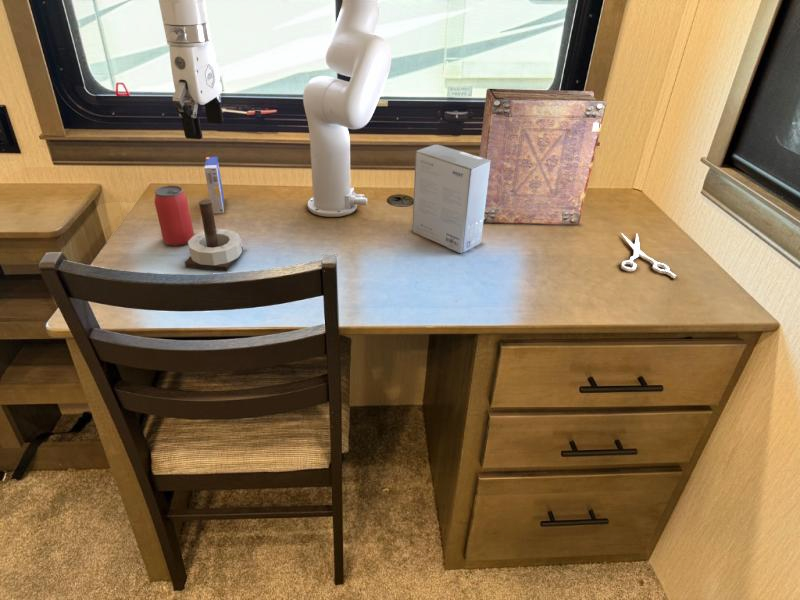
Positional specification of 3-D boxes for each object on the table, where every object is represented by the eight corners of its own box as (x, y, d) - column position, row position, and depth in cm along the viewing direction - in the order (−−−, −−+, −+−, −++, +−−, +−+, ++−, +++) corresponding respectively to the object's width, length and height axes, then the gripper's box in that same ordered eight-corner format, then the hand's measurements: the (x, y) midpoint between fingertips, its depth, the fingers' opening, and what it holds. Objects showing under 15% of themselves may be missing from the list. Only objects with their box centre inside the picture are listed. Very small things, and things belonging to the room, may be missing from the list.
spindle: (243, 251, 122) (235, 195, 115) (226, 271, 115) (217, 213, 107) (204, 247, 123) (193, 191, 116) (185, 267, 116) (173, 209, 108)
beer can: (185, 248, 122) (174, 198, 115) (157, 245, 123) (145, 194, 116) (200, 235, 127) (190, 186, 121) (173, 232, 128) (163, 182, 122)
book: (568, 209, 146) (594, 91, 129) (578, 225, 138) (608, 101, 122) (472, 207, 145) (486, 88, 128) (477, 223, 138) (493, 98, 121)
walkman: (213, 201, 143) (205, 155, 137) (224, 200, 144) (217, 155, 137) (211, 214, 137) (203, 167, 130) (223, 213, 138) (216, 166, 131)
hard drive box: (482, 243, 129) (492, 160, 117) (461, 255, 124) (471, 169, 113) (431, 222, 137) (436, 142, 126) (410, 231, 133) (414, 150, 121)
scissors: (625, 271, 119) (606, 229, 135) (624, 274, 119) (605, 231, 135) (676, 275, 118) (651, 232, 134) (675, 278, 118) (650, 235, 135)
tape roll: (248, 243, 123) (246, 231, 121) (231, 267, 114) (229, 254, 112) (202, 239, 123) (200, 227, 122) (182, 263, 115) (180, 250, 113)
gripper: (185, 44, 91) (204, 146, 101) (227, 27, 105) (240, 118, 115) (142, 41, 92) (165, 143, 101) (189, 25, 106) (206, 116, 115)
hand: (205, 130), depth 108 cm, fingers open, 9 cm apart
